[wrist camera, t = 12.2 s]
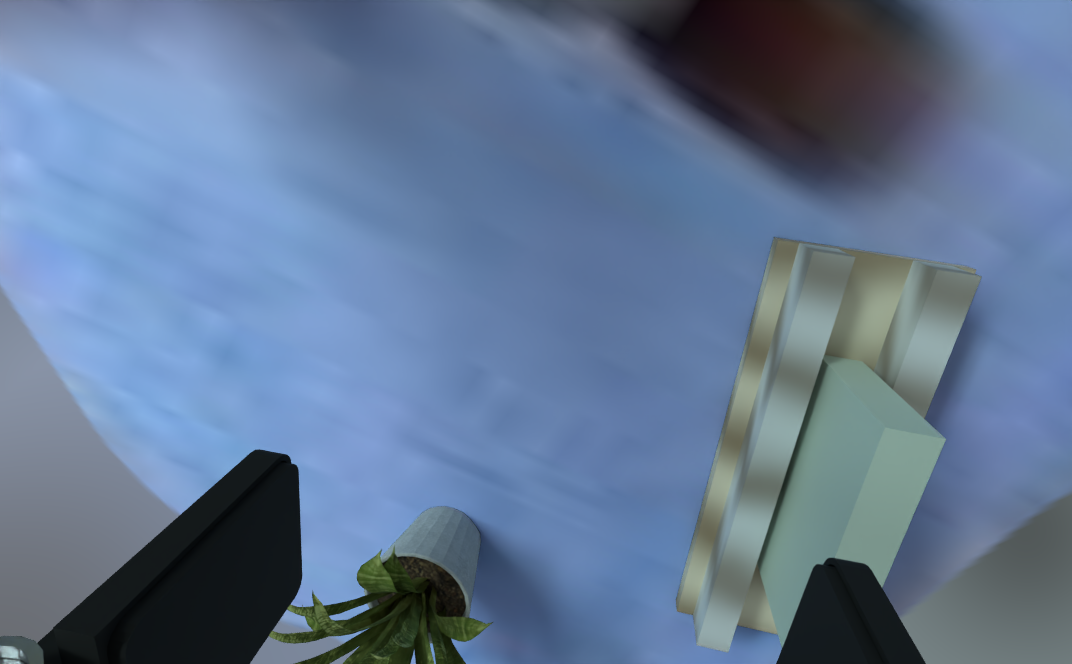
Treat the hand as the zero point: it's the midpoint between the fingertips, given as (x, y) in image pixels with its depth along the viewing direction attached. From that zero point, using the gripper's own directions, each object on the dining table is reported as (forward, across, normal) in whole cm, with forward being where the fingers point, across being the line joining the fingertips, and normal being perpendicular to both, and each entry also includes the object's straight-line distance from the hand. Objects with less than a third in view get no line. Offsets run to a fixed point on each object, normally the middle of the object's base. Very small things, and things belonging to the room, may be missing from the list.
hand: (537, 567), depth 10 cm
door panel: (+23, -15, +10) cm, 29 cm away
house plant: (+25, +8, +21) cm, 34 cm away
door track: (+24, -15, +10) cm, 30 cm away
